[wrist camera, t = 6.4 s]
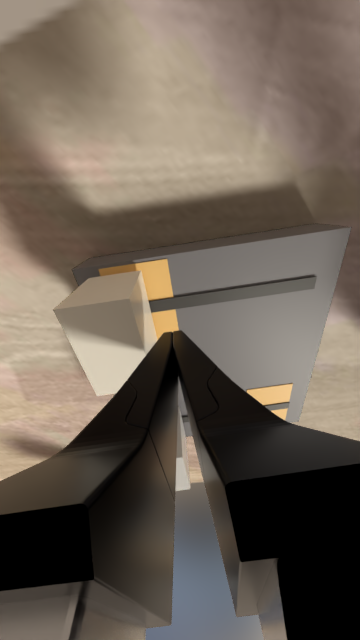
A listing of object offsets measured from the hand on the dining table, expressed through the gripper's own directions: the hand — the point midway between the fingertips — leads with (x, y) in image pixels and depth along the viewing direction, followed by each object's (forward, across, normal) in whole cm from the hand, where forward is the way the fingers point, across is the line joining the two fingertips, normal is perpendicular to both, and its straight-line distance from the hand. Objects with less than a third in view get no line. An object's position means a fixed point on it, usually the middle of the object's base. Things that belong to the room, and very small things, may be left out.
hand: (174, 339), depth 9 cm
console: (+7, -3, +6) cm, 10 cm away
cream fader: (+4, +3, 0) cm, 5 cm away
